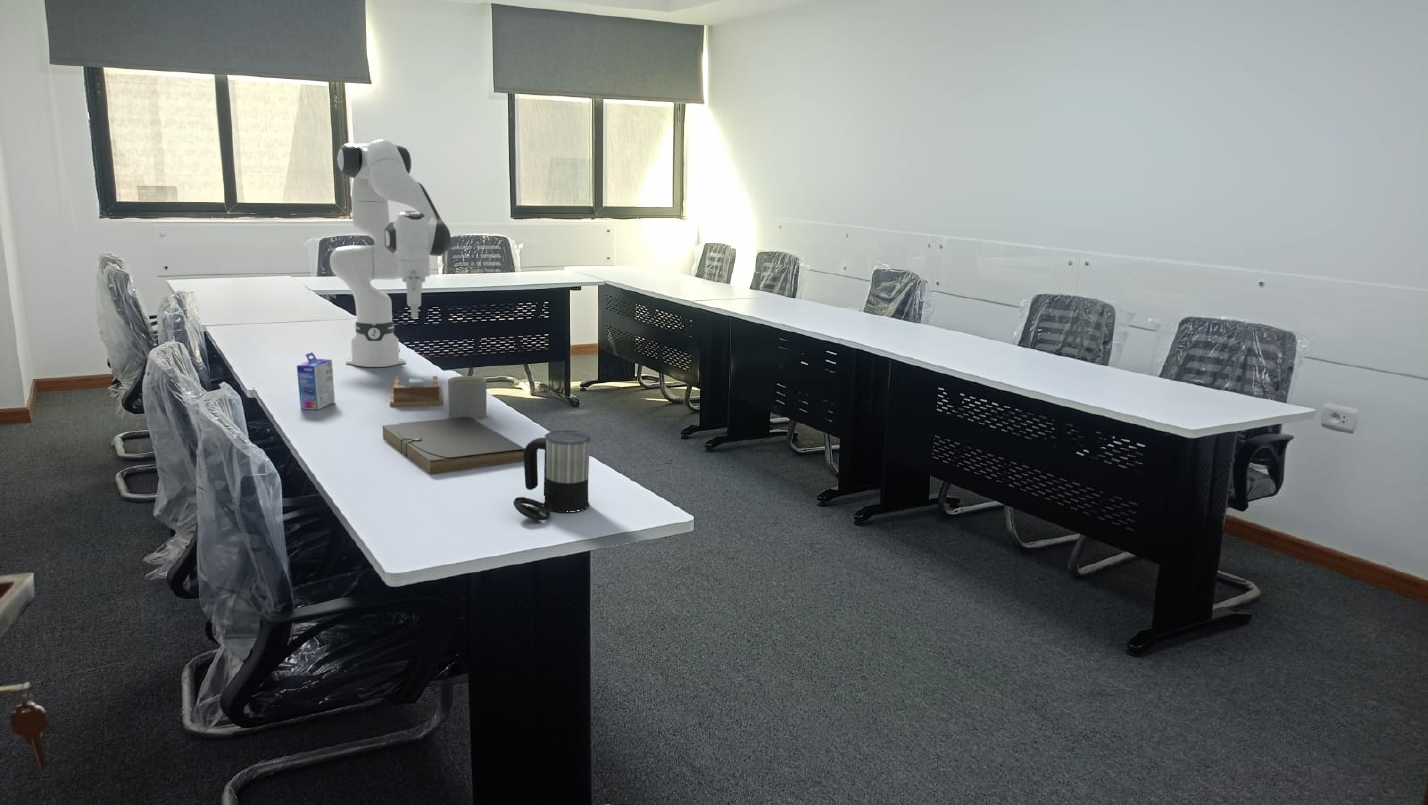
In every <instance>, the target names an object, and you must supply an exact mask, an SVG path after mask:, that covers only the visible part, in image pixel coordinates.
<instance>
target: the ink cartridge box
mask: <svg viewBox="0 0 1428 805" xmlns="http://www.w3.org/2000/svg"><path fill="white" fill-rule="evenodd" d="M310 356H312V358H310ZM305 357H306V359H307V361H306V362H303V363H301V364H298V365H296V373H297V383H298V393H299V394H298V396H299V405H300V406H299V407H300V409H301V410H314V411H318V410H321V409H322V408H325V407H327V406H328V405H329V406H330V405H332V404H333V403H335V399H336V398H335V386H334V385H335V384H334V372H333V371H334V370H333V360H332V359H327V358H326V359H325V358H317V357H316V355H315V354H314V353H313V352H309V353H306V354H305Z"/></svg>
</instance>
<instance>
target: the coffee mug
mask: <svg viewBox="0 0 1428 805" xmlns="http://www.w3.org/2000/svg"><path fill="white" fill-rule="evenodd" d="M447 386H448V387H447V394H448V396H447V397H448V400H447V401H448V417H449V419H451V418H461V417H471V418H473V419H475V420H476V421H478V419H479V420H482V418H483V419H485V418H486V417H487V415H488V414H487V403H488V402H487V379H486V378H484V377H481V376H474V375H460V376H454V377H450V378H448V380H447ZM484 417H485V418H484Z"/></svg>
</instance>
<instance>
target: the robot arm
mask: <svg viewBox="0 0 1428 805" xmlns="http://www.w3.org/2000/svg"><path fill="white" fill-rule="evenodd" d="M336 158H337V160H336V161H337V166H338V169H339V171H340V173H341V174H342V175H343V176H345V177H348V178H352V186H351V188H352V189H351V208H352V210H351V211H352V214H351V215H352V224H353V227H354V228H355V229H356V230H357V231H358V232H360V233H362V234H364V235H365V236H368V237H370V238H371V239H372V240H373V242H374V244H373V245H372V244H371V245H353V244H352V245H345V246H338V247H336V248H334V249H333V251H332V252H331V254H330V257H329V266H330V269H331V271H332V273H333V274H334V275H335V276H336V277H337V278H339V280H341V281H343V282H344V283H345V284H346V286H347V287H348V288H349V290H350V292H351V293H352V296H353V299H354V304H355V312H356V321H355V325H354V328H355V333H356V334H355V335H354V336H353V337H352V338H351V339H350V340H351V341H350V344H351V346H350V347H351V349H350V351H351V352H350V353H351V357H349V358H348V359H346V360H345V364H346V365H353V366H358V367H367V368H382V367H384V368H385V367H392V366H396V365H403V364H406V359H405V358H404V357H403V356H402V355H401V354H400V351H401V350H400V346H399V345H400V344H399V343H400V342H399V340H400V339H399V338H398V337H397V336H396V335H395V333H394V332H395V325H394V324H395V323H394V321H393V312H392V310H393V307H392V298H391V297H390V296H389V295H388V294H387V293H386V292H384V291H383V290H380V289H378V288H375V287H374V286H372V284H371V281H373V280H379V281H380V280H388V281H389V280H394V281H395V280H400V279H401V281H402V282H403V283H405V286H406V302H407V306H408V307H410V313H411V314H410V315H411V319H418V317H419V307H421V305H422V289H423V283H426V278H428V277H430V275H431V274H430V273H431V268H430V265H431V264H430V263H431V262H430V256H433V257H434V256H436V257H441V256H443V255H444V254H445V253H446V252H447V251H449V249H450V248H451V244H452V238H451V236H452V235H451V232H450V230H449V228H448V226H447V224H446V223H445V222H444V221H443V220H442V218H441V216H440V215H439V213H438V212H439V211H438V210H437V208H436V207H435V205H434V203H433V201H432V200H431V199H432V198H431V197H430V194H428V191H427V190H426V189H425V187H424V185H423V184H422V183H421V182H418V181H417V180H416V179H415V178H413V177H412V176H411V174H410V173H411V170H412V158H411V155H410V152H409V150H408V148H406V147H403V146H400V145H397V144H395V143H393V142H392V141H390V140H388V139H376V140H374V141H372V142H369V143H368V142H367V143H361V142H360V143H354V142H350V143H344V144H343V145H341V146H340V147H339V149H338V153H337V157H336ZM389 201H391V202H396V203H400V204H403V205H406V206H408V207H411V208H412V209H414V210H404V211H401V212H399V213H398V214H397V219H396V220H395V221H392V222H390V213H389V211H390V210H389ZM415 210H416V211H415Z"/></svg>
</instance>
